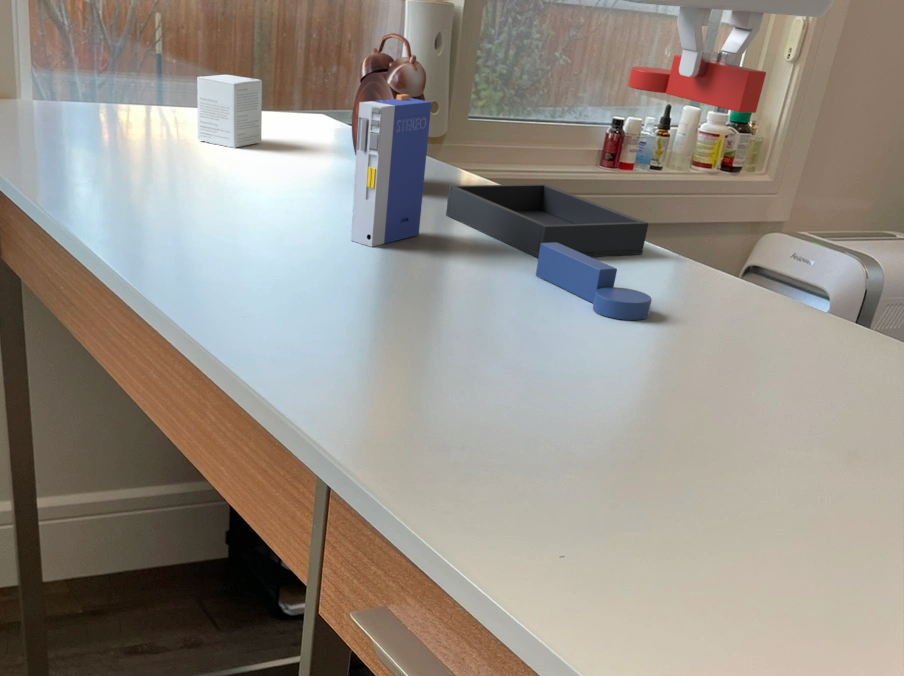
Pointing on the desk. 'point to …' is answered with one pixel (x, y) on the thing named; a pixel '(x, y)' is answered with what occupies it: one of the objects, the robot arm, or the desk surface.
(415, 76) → the alarm clock
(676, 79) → the red spoon
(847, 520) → the desk surface
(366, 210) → the walkman
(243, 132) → the product box
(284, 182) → the desk surface
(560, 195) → the tray
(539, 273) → the blue spoon
